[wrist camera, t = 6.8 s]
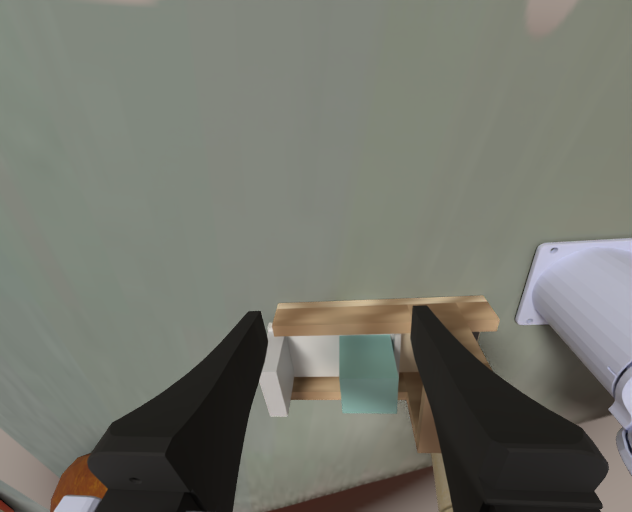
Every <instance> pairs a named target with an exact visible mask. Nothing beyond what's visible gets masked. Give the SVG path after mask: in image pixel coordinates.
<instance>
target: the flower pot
mask: <svg viewBox="0 0 632 512" xmlns="http://www.w3.org/2000/svg"><path fill="white" fill-rule="evenodd" d="M431 456H432V463H433V470H434V477H435V484H436V485H435V486H436V493H437V500H438V508H439V512H453V508H452V503H451V497H450V492H449V487H448V482H447V478H446V473H445V468H444V463H443V458H442V454H441V453H431Z"/></svg>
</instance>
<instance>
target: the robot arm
mask: <svg viewBox="0 0 632 512" xmlns="http://www.w3.org/2000/svg"><path fill="white" fill-rule="evenodd" d="M552 248H554V249H553V250H552V251H550V250H551V249H552ZM528 319H529V320H528ZM515 320H516V322H517V323H518V324H519V325H540V324H549V325H550V326H551V327H552V328H553V329H554V331H555V332H556V333H557V334H558V335H559V336H560V337H561V339H562V340H563V341H564V342H565V343H566V344H567V345H568V347H569V348H570V349H571V350H572V351H573V352H574V353H575V355H576V356H577V357H578V358H579V359H580V360H581V361H582V362H583V364H584V365H585V366H586V367H587V368H588V369H589V370H590V372H591V373H592V374H593V375H594V376H595V377H596V378H597V380H598V381H599V382H600V383H601V384H602V385H603V386H604V388H605V389H606V390H607V391H608V392H609V393H610V394H611V395H612V397H613V398H614V399H615V402H614V403H613V405H612V406H611V407H609V409H608V410H609V411H610V412H611V413H612V415H613V416H614V417H615V418H616V419H617V421H618V422H619V423H620V424H621V425H622V426H623V427H622V428H621V429H620V430H619V432H618V433H617V436H616V444H617V448H618V451H619V454H620V456H621V458H622V460H623V462H624V464H625V466H626V467H627V469H628V471H629V473H630V474H631V476H632V238H623V239H605V240H587V241H570V242H552V243H543V244H541V245H539V246H538V248H537V250H536V253H535V257H534V260H533V263H532V266H531V270H530V273H529V276H528V279H527V282H526V286H525V289H524V292H523V295H522V299H521V302H520V305H519V308H518V312H517V315H516V318H515ZM410 340H411V345H412V350H413V354H414V359H415V362H416V365H417V368H418V371H419V374H420V377H421V380H422V383H423V386H424V389H425V392H426V395H427V398H428V401H429V404H430V407H431V411H432V414H433V418H434V423H435V427H436V431H437V436H438V440H439V445H440V449H441V454H442V458H443V463H444V468H445V473H446V478H447V482H448V487H449V492H450V497H451V503H452V508H453V512H601V511H600V510H599V509H602V508H603V507H602V503H601V501H600V500H599V498H598V496H597V495H596V493H595V492H594V490H595V489H596V488H597V487H598V485H599V484H600V483H601V482H602V481H603V479H604V478H605V477H606V475H607V473H608V470H609V466H608V462H607V461H606V459H605V458H604V457H603V455H602V454H601V453H600V451H599V449H598V448H597V447H596V445H595V444H594V442H593V441H592V440H591V439H590V437H589V436H588V435H587V434H586V433H585V431H584V430H583V429H582V428H581V427H579V426H577V425H576V424H574V423H572V422H570V421H568V420H567V419H565V418H563V417H561V416H559V415H558V414H556V413H554V412H552V411H550V410H549V409H547V408H545V407H544V406H542V405H541V404H539V403H537V402H536V401H534V400H533V399H531V398H529V397H528V396H526V395H525V394H523V393H522V392H520V391H519V390H517V389H516V388H515V387H513V386H512V385H510V384H509V383H508V382H506V381H505V380H503V379H502V378H501V377H499V376H498V375H497V374H495V373H494V372H493V371H492V370H490V369H489V368H488V367H487V366H485V365H484V364H483V363H482V362H481V361H480V360H478V359H477V358H476V357H475V356H474V355H473V354H472V353H471V352H470V351H469V350H468V349H466V348H465V347H464V346H463V345H462V344H461V343H460V342H459V341H458V340H457V339H456V338H455V336H454V335H453V334H452V333H451V332H450V331H449V330H448V329H447V328H446V327H445V326H444V325H443V324H442V322H441V321H440V320H439V319H438V318H437V317H436V315H435V314H434V313H433V312H432V311H431V309H430V308H429V307H428V306H427V305H418V306H413V308H412V321H411V334H410ZM267 347H268V338H267V334H266V330H265V326H264V323H263V319H262V315H261V311H248V313H247V314H246V315H245V316H244V317H243V318H242V319H241V320H240V321H239V323H238V324H237V325H236V326H235V327H234V328H233V329H232V331H231V332H230V333H229V334H228V335H227V336H226V337H225V338H224V339H223V340H222V342H221V343H220V344H219V345H218V346H217V347H216V348H215V349H214V350H213V351H212V352H211V353H210V354H209V355H208V356H207V357H206V358H205V359H204V360H203V361H201V362H200V363H199V364H198V365H197V366H196V367H195V368H193V369H192V370H191V371H190V372H189V373H187V374H186V375H185V376H184V377H182V378H181V379H180V380H178V381H177V382H176V383H174V384H173V385H172V386H170V387H169V388H168V389H166V390H165V391H164V392H162V393H161V394H159V395H158V396H156V397H155V398H153V399H152V400H150V401H148V402H147V403H145V404H144V405H142V406H141V407H139V408H137V409H135V410H134V411H132V412H130V413H129V414H127V415H125V416H123V417H122V418H120V419H118V420H116V421H114V422H113V423H112V424H111V425H110V426H109V428H108V429H107V431H106V432H105V434H104V435H103V437H102V438H101V440H100V441H99V442H98V444H97V445H96V447H95V448H94V450H93V451H92V453H91V454H90V456H89V457H88V460H87V464H88V468H89V470H90V471H91V472H92V473H93V474H94V475H95V476H96V477H97V478H98V479H99V480H100V482H101V483H102V484H103V485H104V486H105V487H106V488H107V489H108V490H107V491H106V493H105V495H104V497H103V498H102V499H101V498H98V497H95V496H83V495H66V496H64V497H63V498H62V500H61V501H60V503H59V504H58V506H57V507H56V509H55V510H54V512H233V505H234V498H235V491H236V484H237V477H238V471H239V465H240V459H241V453H242V448H243V443H244V437H245V432H246V427H247V422H248V417H249V413H250V409H251V405H252V402H253V399H254V396H255V392H256V389H257V386H258V383H259V379H260V376H261V373H262V370H263V366H264V363H265V358H266V353H267Z"/></svg>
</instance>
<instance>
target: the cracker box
mask: <svg viewBox="0 0 632 512" xmlns="http://www.w3.org/2000/svg"><path fill="white" fill-rule="evenodd" d="M0 512H14V510H13V509H11V508H10V507H9V506H8V505H6V504H5V503H4V502H3V501H2V500H0Z"/></svg>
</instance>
